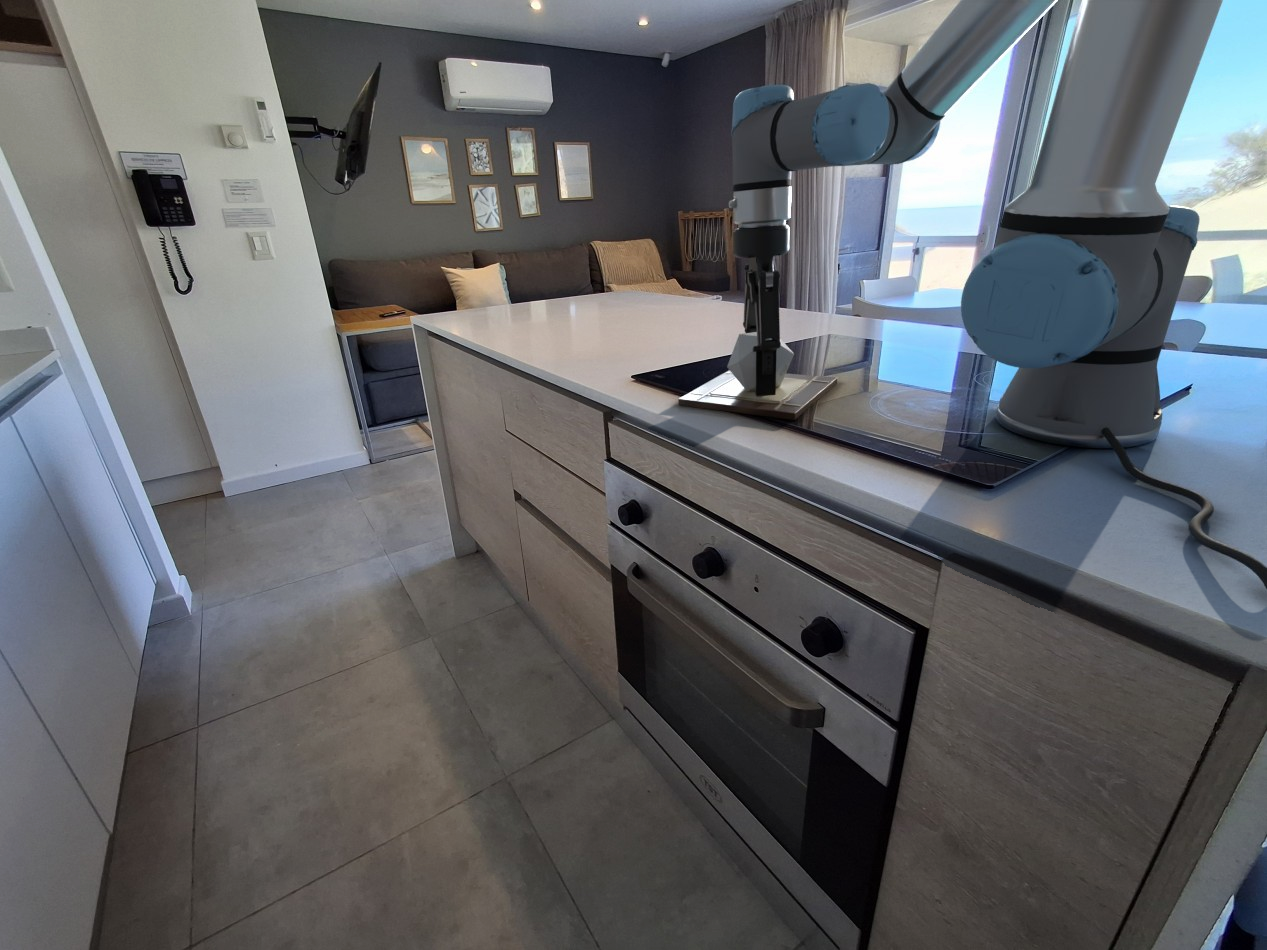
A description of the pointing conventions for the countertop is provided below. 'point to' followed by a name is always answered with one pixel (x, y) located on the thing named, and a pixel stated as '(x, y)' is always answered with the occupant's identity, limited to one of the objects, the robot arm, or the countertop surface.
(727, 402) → the board
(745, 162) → the robot arm
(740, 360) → the die
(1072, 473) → the countertop surface
